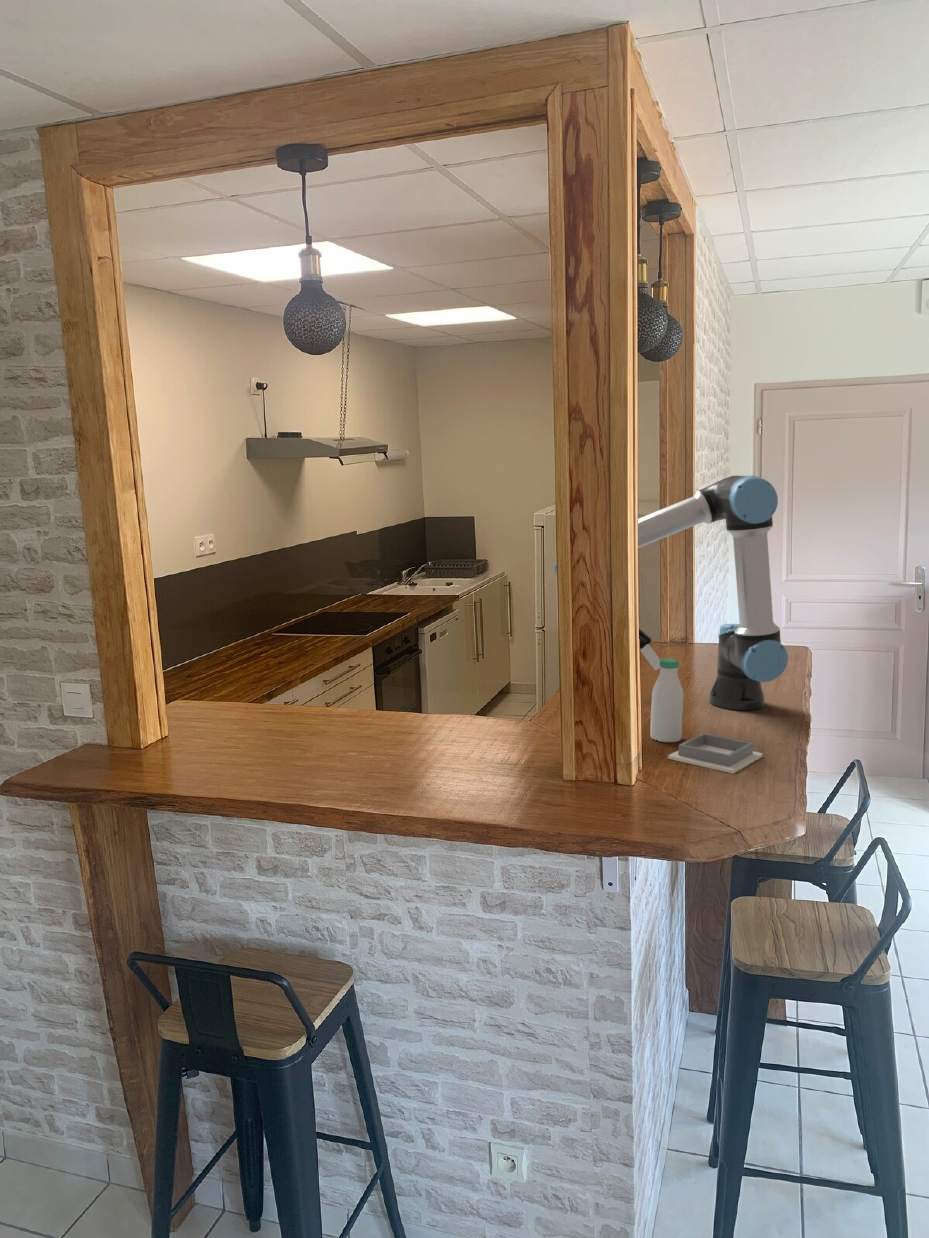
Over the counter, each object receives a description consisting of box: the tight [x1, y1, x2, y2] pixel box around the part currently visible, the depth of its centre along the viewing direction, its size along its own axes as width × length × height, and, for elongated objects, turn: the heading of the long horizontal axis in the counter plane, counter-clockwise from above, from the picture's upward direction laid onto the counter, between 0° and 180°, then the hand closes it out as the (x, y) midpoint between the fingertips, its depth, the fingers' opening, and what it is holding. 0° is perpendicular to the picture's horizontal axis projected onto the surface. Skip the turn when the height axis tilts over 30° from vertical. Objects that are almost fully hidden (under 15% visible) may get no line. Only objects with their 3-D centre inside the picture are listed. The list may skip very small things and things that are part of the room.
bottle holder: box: [667, 732, 764, 775], centre depth 216 cm, size 16×16×3 cm
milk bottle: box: [649, 658, 684, 743], centre depth 229 cm, size 8×8×20 cm
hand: (646, 671), depth 231 cm, fingers open, 13 cm apart
